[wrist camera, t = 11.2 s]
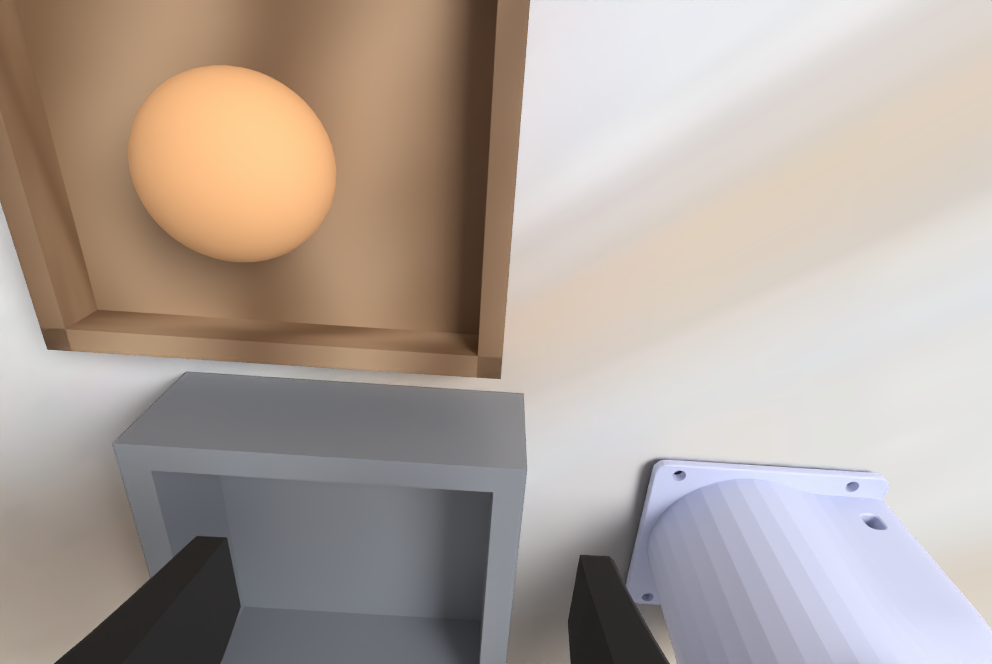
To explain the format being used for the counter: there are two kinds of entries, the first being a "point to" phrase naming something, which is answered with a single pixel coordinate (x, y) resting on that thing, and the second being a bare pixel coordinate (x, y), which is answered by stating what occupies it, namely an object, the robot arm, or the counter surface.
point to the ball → (232, 163)
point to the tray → (358, 193)
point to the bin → (340, 512)
